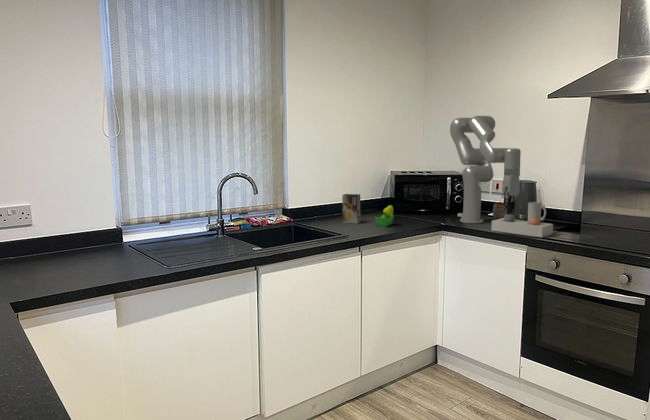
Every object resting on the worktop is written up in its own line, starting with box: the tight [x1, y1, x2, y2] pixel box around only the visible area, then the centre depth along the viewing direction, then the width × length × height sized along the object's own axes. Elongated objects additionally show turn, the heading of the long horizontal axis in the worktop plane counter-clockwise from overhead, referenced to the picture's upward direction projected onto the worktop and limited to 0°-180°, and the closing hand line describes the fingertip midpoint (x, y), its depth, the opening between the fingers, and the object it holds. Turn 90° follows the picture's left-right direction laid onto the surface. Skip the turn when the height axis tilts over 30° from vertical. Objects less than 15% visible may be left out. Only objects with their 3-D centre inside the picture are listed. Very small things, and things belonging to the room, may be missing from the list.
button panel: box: [490, 218, 554, 238], centre depth 247 cm, size 26×12×5 cm, turn 43°
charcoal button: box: [504, 213, 516, 222], centre depth 252 cm, size 5×5×5 cm
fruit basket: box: [374, 204, 395, 228], centre depth 269 cm, size 11×9×11 cm
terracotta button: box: [529, 217, 541, 225], centre depth 242 cm, size 5×5×5 cm
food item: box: [492, 201, 508, 220], centre depth 290 cm, size 14×8×10 cm, turn 168°
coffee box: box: [341, 193, 361, 225], centre depth 278 cm, size 9×6×16 cm
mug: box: [527, 201, 547, 221], centre depth 267 cm, size 10×7×12 cm, turn 37°
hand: (510, 209), depth 250 cm, fingers closed
